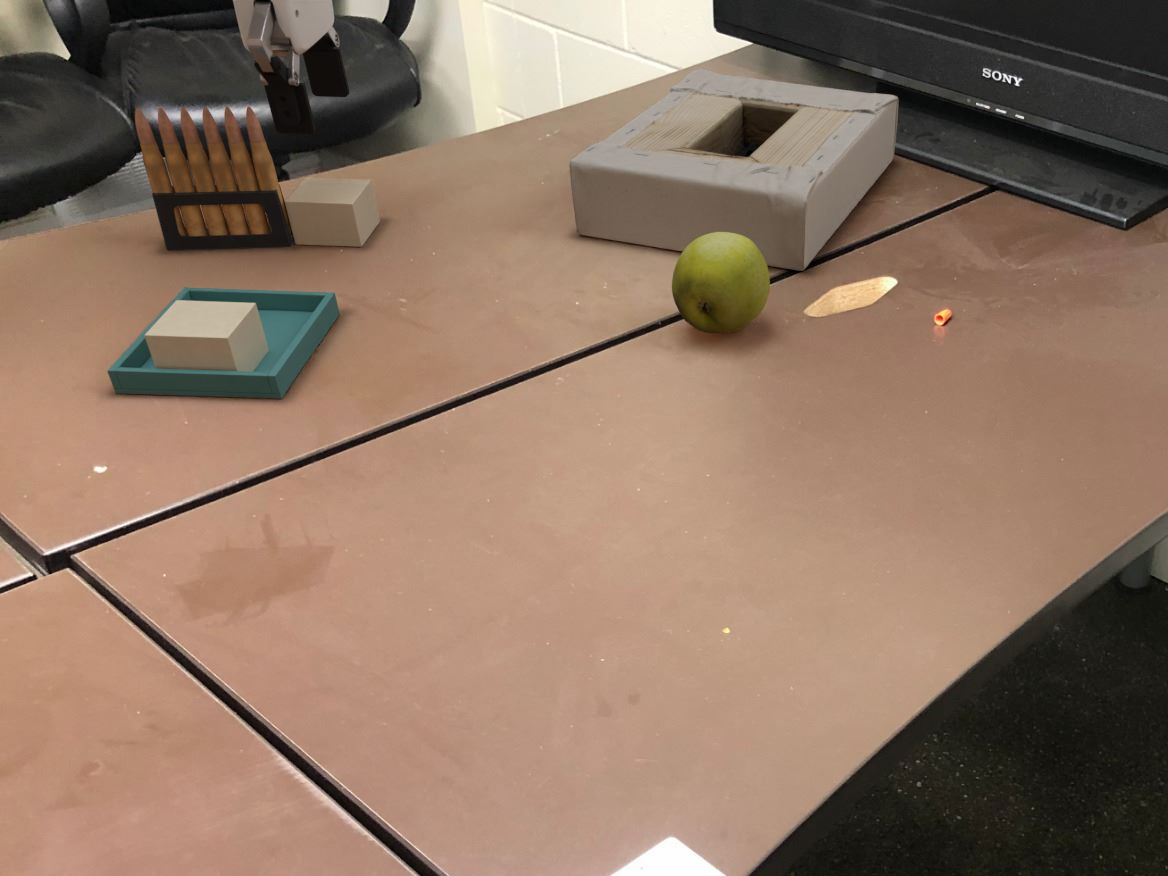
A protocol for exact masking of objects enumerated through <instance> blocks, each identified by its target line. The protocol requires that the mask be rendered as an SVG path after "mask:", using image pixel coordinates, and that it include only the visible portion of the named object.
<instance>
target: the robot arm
mask: <svg viewBox="0 0 1168 876" xmlns="http://www.w3.org/2000/svg"><path fill="white" fill-rule="evenodd" d="M232 3H233V7H234V12H235V16H236V20H237V24H238V29H239V33H240V38H241V41H242V44H243V47H244V48H245V50H247V51H248V52H249V53H250V54H251V56H252V57H253V59H254V63H253V65H254V67H255V69H256V70H257V72H258V73H259V80H260V84H262V86H263V88H264V91H265V94H266V98H267V101H268V102H267V103H268V106H269V109H270V113H271V118H272V121H273V126H274V128H275V130H276V132H277V133H279V134H296V135H300V134H301V135H312V134H314V132H315V131H316V123H315V120H314V119H315V118H314V116H313V111H312V107H311V102H310V100H309V99H310V98H309V94H308V89H307V87H306V83H305V82H300V59H301V58H300V55H302V57H303V60H304V65H305V70H306V74H307V77H308V81H309V86H310V89H311V94H312V95H313V96H315V97H321V98H323V97H325V98H346V97H348V96H349V95H350V94H351V93H350V88H349V83H348V77H347V74H346V73H347V72H346V69H345V65H344V60H343V56H342V51H341V48H339V47H340V37H339V34H338V32H337V31H336V28H335V21H336V18H335V16H336V15H335V12H334V11H335V10H334V4H333V0H232ZM280 58H286V64H285V63H284V62H283V61H282V59H280Z"/></svg>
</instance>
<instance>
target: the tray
mask: <svg viewBox="0 0 1168 876" xmlns="http://www.w3.org/2000/svg"><path fill="white" fill-rule="evenodd" d="M176 300H187V301H215V302H244V303H256V305H257V309H258V312H259V316H260V320H261V323H262V327H263V330H264V334H265V337H266V341H267V344H268V348H269V351H268V353H267V354H266V355H265V357H264V358H263V359H262V361H261V362H260V363H259V365H258V366H257V367H256V369H255V370H254V371H253V372H247V371H217V370H186V369H156V368H155V365H154V362H153V359H152V356H151V353H150V350H149V347H148V344H147V341H146V339H145V334H146V333H147V332H148V331H149V330H150V328H151V327H152V326H153V325H154V324H155V323H156V322H157V321H158V320H159V319H160V318H161V316H162V315H163V314H164V313H165V312H166V311H167V310H168V309H169V308H170V307H171V306H172V304H173V303H174V302H175V301H176ZM339 308H340V307H339V305H338V300H337V296H336V292H333V291H331V292H330V291H327V292H326V291H323V292H322V291H299V290H273V289H272V290H271V289H248V288H247V289H246V288H218V287H215V288H214V287H211V288H210V287H190V286H189V287H188V286H187V287H186V286H185V287H183V288H182V289H181V290H180V291H179V292H178V293H177V295H175V297H174V298H173V299H172V300H171V301H170V302H169V303H168V304H167V305H166V306H165V307H164V308H163V310H162V311H161V312H160V313H159V314H158V315H157V316H156V317H155V318H154V319H153V320H152V321H151V323H150V324H148V326H147V327H146V328H145V329H144V330H143V331H142V332H141V333H140V334H139V335H138V336H137V338H136V339H135V340H134V341H133V342H132V343H131V344H130V345H129V346H128V347H127V348H126V349H125V351H124V352H123V353H122V354H121V355H120V356H119V357H118V358H117V359H116V360H115V361H114V363H113V364H111V365H110V367H109V368H108V369H107V374H108V377H109V380H110V382H111V385H112V387H113V391H114V393H115V394H121V395H122V394H126V395H150V396H151V395H155V396H182V397H183V396H185V397H187V396H188V397H218V398H247V399H249V398H250V399H276V400H277V399H278V400H279V399H281V400H282V398H283V397H284V396H285V394H286V393H287V392H288V390H289V388H290V387H291V386H292V384H293V382H294V381H295V380H296V379H297V377H298V375H299V374H300V373H301V371H302V370H303V368H304V366H305V365H307V362H308V361H309V359H310V358H311V357H312V355H313V354H314V352H315V351H316V349H317V348H318V347H319V345H320V344H321V342H322V341H323V339H324V338H325V336H326V335H327V333H328V331H330V329H331V328H332V326H333V324H334V323H335V321H336V320H337V319H338V317H339V316H340V315H341V313H340V309H339Z"/></svg>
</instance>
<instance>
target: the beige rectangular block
mask: <svg viewBox="0 0 1168 876" xmlns="http://www.w3.org/2000/svg"><path fill="white" fill-rule="evenodd" d="M284 201H285V206H286V210H287V213H288V217H289V221H290V225H291V229H292V233H293V237H294V245H301V246H324V247H325V246H326V247H327V246H328V247H357V248H362V247H364V244H365V243H366V242H367V241H368V239H369V238H370V236H372V234H373V233H374V231H375V230H376V228H377V226H378V225H379V224H380V222H381V220H380V216H379V211H378V206H377V201H376V197H375V191H374V188H373V182H372V179H360V178H357V179H356V178H332V177H331V178H330V177H307V176H306V177H305V178H304V179H303V180H302V181H301V182H300V183H299V184H298V186H297V187H296V188H295V189H294V190H293V191H292V192H291V194H290V195H289V196H288V197H287V198H286V199H284Z"/></svg>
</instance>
